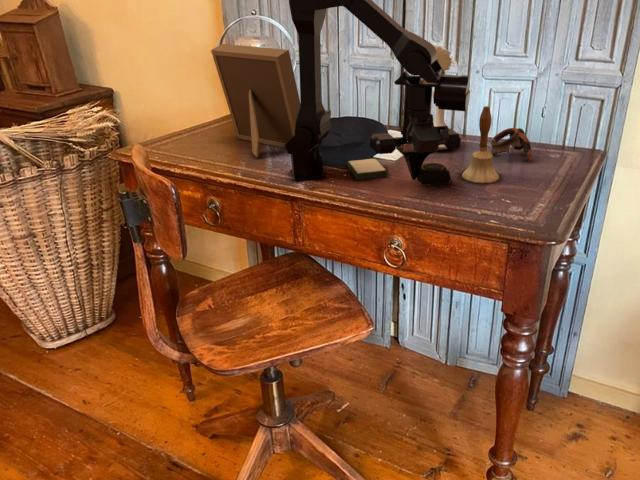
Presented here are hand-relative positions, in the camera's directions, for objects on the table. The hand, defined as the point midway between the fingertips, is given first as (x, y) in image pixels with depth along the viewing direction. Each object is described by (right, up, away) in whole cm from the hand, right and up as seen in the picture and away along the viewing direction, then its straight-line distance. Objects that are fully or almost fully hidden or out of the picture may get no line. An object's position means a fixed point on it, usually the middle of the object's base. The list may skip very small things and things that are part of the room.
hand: (413, 179), depth 126 cm
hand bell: (+16, +1, +5) cm, 17 cm away
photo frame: (-39, +13, +27) cm, 49 cm away
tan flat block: (-10, +3, +9) cm, 14 cm away
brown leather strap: (+26, +8, +18) cm, 33 cm away
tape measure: (+5, -1, +2) cm, 5 cm away
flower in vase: (+8, +13, +26) cm, 30 cm away
